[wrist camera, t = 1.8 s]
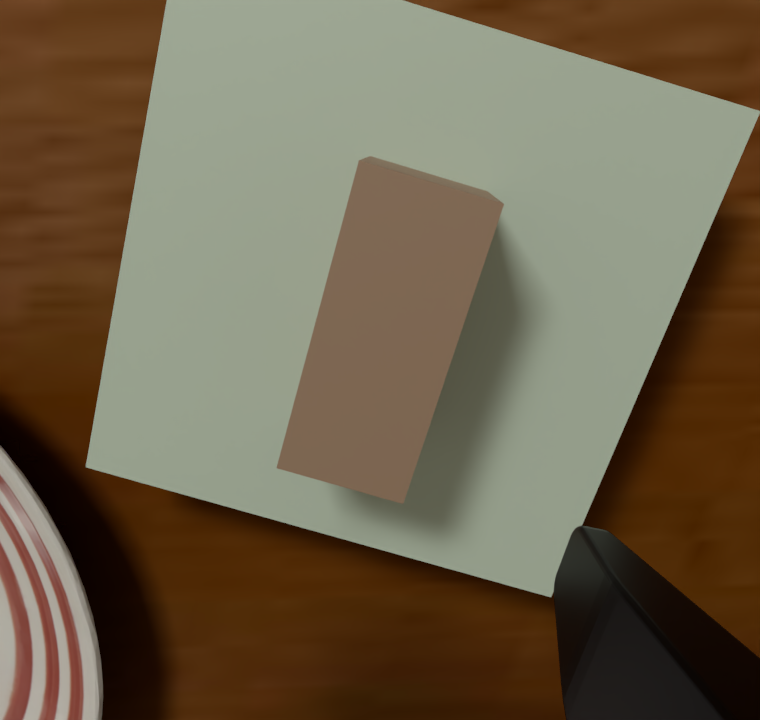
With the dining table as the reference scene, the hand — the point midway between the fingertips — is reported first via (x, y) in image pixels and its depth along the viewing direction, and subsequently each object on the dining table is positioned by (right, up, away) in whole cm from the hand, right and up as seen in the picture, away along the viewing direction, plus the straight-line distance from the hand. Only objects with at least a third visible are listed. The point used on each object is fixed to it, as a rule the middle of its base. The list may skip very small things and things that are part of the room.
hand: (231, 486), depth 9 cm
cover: (+2, +3, +10) cm, 11 cm away
